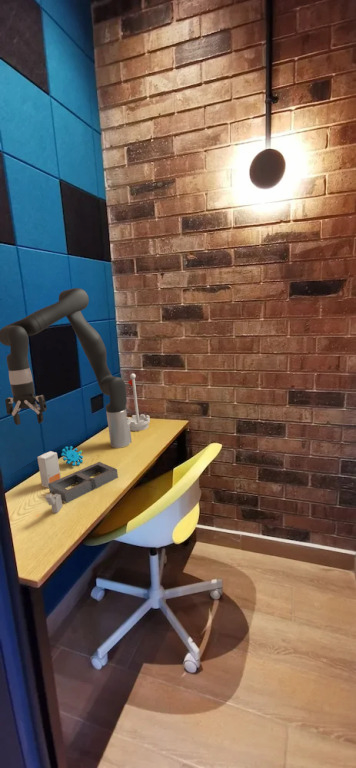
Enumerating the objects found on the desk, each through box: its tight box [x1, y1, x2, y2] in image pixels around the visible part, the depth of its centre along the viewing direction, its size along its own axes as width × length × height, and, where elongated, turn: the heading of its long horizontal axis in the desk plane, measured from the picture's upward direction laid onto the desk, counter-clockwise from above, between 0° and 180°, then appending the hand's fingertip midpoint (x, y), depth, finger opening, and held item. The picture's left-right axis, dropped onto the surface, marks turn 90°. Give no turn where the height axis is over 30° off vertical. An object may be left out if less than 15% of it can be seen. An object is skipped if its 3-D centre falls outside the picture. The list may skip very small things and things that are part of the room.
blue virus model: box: [60, 445, 84, 467], centre depth 151 cm, size 11×6×10 cm
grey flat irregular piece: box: [44, 493, 63, 514], centre depth 114 cm, size 7×2×8 cm, turn 175°
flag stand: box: [127, 373, 151, 432], centre depth 188 cm, size 13×13×30 cm
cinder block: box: [48, 461, 119, 504], centre depth 131 cm, size 22×12×4 cm, turn 137°
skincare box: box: [36, 450, 62, 489], centre depth 133 cm, size 6×4×12 cm
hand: (29, 423), depth 131 cm, fingers open, 8 cm apart
